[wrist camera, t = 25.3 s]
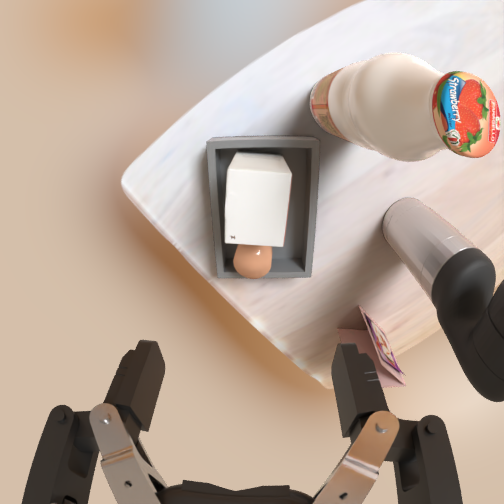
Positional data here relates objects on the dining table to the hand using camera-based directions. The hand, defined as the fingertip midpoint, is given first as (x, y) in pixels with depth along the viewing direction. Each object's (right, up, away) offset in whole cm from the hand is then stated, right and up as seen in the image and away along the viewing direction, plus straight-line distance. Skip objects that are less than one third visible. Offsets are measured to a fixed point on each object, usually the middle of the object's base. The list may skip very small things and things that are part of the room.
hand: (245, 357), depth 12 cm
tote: (+2, +12, +30) cm, 32 cm away
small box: (+1, +15, +27) cm, 31 cm away
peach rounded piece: (+1, +7, +32) cm, 32 cm away
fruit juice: (+13, +25, +23) cm, 36 cm away
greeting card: (+23, -11, +42) cm, 49 cm away
